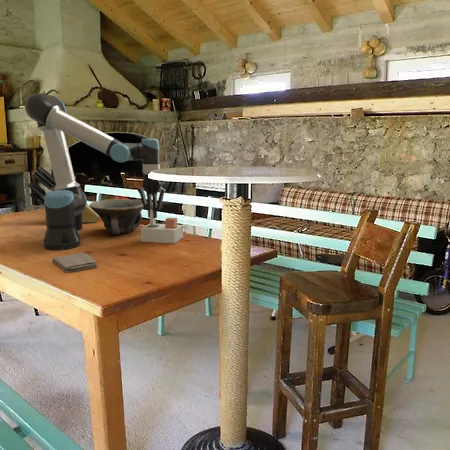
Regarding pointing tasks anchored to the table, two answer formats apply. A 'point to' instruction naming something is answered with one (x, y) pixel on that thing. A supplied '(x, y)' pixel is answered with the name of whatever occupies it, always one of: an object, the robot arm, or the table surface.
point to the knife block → (49, 182)
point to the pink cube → (171, 223)
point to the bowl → (119, 214)
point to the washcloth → (75, 262)
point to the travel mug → (78, 221)
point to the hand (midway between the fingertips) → (152, 224)
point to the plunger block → (161, 234)
